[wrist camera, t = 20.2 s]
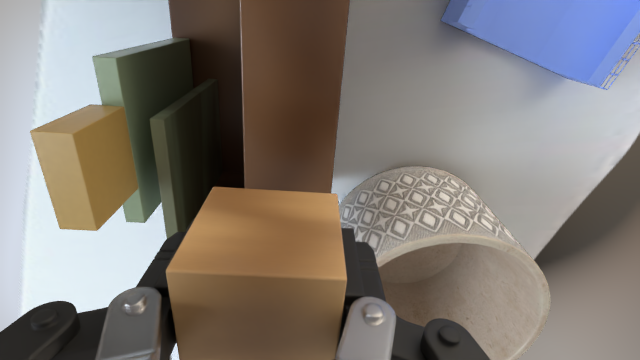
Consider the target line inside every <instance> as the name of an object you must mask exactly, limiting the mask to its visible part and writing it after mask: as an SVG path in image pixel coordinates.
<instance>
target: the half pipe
mask: <svg viewBox="0 0 640 360" xmlns="http://www.w3.org/2000/svg"><path fill="white" fill-rule="evenodd" d="M440 21H443V22H445V23H447V24H449V25H451V26H454V27H456V28H458V29H460V30H462V31H465V32H467V33H469V34H471V35H473V36H475V37H478V38H480V39H482V40H484V41H486V42H489V43H491V44H493V45H495V46H497V47H500V48H502V49H504V50H506V51H508V52H510V53H513V54H515V55H517V56H519V57H521V58H524V59H526V60H528V61H530V62H532V63H535V64H537V65H539V66H541V67H543V68H545V69H548V70H550V71H552V72H554V73H556V74H559V75H561V76H563V77H565V78H567V79H571V80H574V81H578V82H581V83H584V84H588V85H591V86H595V87H598V88H602V89H605V88H604V87H605V86H606V85H605V86H604V87H601V85H602V83H603V82H604V81H605V79H606V78H607V76H608V75H609V74H610V72H611V71H612V70H613V68H614V67H615V66H616V64H617V63H618V61H619V60H620V59H621V57H622V56H623V55H624V53H625V52H626V50H627V49H628V48H629V46H630V45H631V44H635V42H633V41H634V40H635V38H636V37H637V35H638V34H639V33H640V0H450V2H449V4H448V6H447V8H446V10H445V12H444V14H443V16H442V18H441V20H440ZM639 39H640V38H639ZM638 41H639V40H638ZM638 41H637V42H638ZM635 45H636V44H635ZM635 45H634V46H635ZM639 45H640V43H639ZM639 47H640V46H639ZM639 47H638V48H639ZM633 48H634V47H633ZM633 48H632V49H633ZM638 48H637V49H638ZM632 49H631V50H632ZM636 51H637V50H636ZM636 51H635V52H636ZM630 52H631V51H630ZM630 52H629V53H630ZM635 52H634V53H635ZM629 53H628V54H629ZM633 55H634V54H633ZM633 55H632V56H633ZM627 56H628V55H627ZM627 56H626V57H627ZM626 57H625V58H623V59H622V60H623V61H624V60H625V59H626ZM630 59H631V58H630ZM630 59H629V60H630ZM629 60H627V61H629ZM627 63H628V62H627ZM627 63H626V64H627ZM621 64H622V63H621ZM621 64H620V65H621ZM625 66H626V65H625ZM625 66H624V67H625ZM619 67H620V66H619ZM619 67H618V68H619ZM624 67H623V68H624ZM618 68H617V69H618ZM622 70H623V69H622ZM622 70H621V71H622ZM616 71H617V70H616ZM616 71H615V72H616ZM621 71H620V72H621ZM615 72H614V73H615ZM619 74H620V73H619ZM619 74H615V76H618V75H619ZM611 75H612V76H613V73H611ZM616 78H617V77H616ZM616 78H615V79H616ZM610 79H611V78H610ZM610 79H609V80H610ZM615 79H614V80H615ZM613 82H614V81H613ZM613 82H612V83H613ZM607 83H608V82H607ZM607 83H606V84H607ZM612 83H611V84H612ZM610 86H611V85H610ZM610 86H609V87H610ZM606 90H608V89H606Z"/></svg>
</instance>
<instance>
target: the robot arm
mask: <svg viewBox="0 0 640 360" xmlns="http://www.w3.org/2000/svg"><path fill="white" fill-rule="evenodd" d="M194 220H195V219H193V220H192V221H191V223H190V224H189V226H188V228H187V230H186V231H185V232H176V233H175V234H173V235H172V236H171V237H169V238H168V239H167V240H166V241H165V242H164V244H163V245H162V247H161V248H160V251H159V252H158V253H157V255H156V256H155V259H154V260H153V261H152V263H151V264H150V266H149V267H148V269H147V270H146V272H145V274H144V275H143V277H142V278H141V280H140V281H139V283H138V285H137V286H136V288H132V289H129V290H127V291H124V292H123V293H121V294H119V295H118V296H117V297H115V298H114V299H113V301H112V302H111V303H110V305H109V307H106V308H102V309H97V310H92V311H87V312H82V313H77V311H76V308H75V306H74V305H73V304H71V303H69V302H66V301H55V302H49V303H46V304H43V305H40V306H38V307H36V308H34V309H32V310H30V311H28V312H27V313H26V314H24V315H23V316H21V317H20V318H19V319H17V320H16V321H15V322H14V323H12V324H11V325H10V326H8V327H7V328H5V329H4V330H3V331H1V332H0V360H172V358H171V353H172V351H173V348H174V346H175V343H177V340H176V334H175V328H174V321H173V315H172V308H171V302H170V296H169V289H168V283H167V276H166V269H167V267H168V265H169V264H170V262H171V260H172V258H173V257H174V255H175V253H176V251H177V250H178V248H179V246H180V244H181V243H182V241H183V239H184V237H185V235H186V234H187V232H188V230H189V228H190V227H191V225H192V223H193V221H194ZM341 231H342V239H343V248H344V256H345V265H346V274H347V284H346V292H345V299H344V306H343V313H342V320H341V328H340V335H339V342H338V349H337V353H336V356H335V359H332V360H491V359H490V358H489V357H488V356H487V354H486V353H485V352H484V351H483V349H482V348H481V347H480V346H479V344H478V343H477V342H476V341H475V339H474V338H473V337H472V336H471V334H470V333H469V332H468V331H467V330H466V329H465V328H464V327H463V326H461V325H460V324H458V323H456V322H454V321H452V320H448V319H443V318H438V319H433V320H431V321H429V322H428V323H427V324H426V326H425V327H423V326H420V325H417V324H414V323H410V322H408V321H405V320H403V319H401V318H400V317H398V316H397V315H396V314H395V312H394V310H393V308H392V307H391V306H390V305H389V304H388V303H387V302H386V299H385V295H384V290H383V286H382V282H381V278H380V274H379V271H378V265H377V263H376V257H375V253H374V250H373V249H372V248H371V247H370V246H369V244H368V243H367V242H356V240H355V235H354V229H353V228H341Z"/></svg>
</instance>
